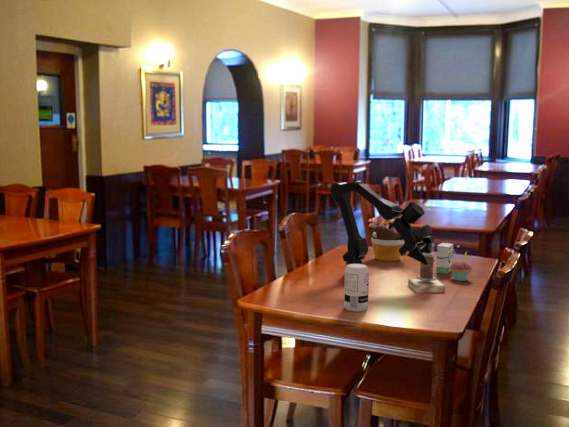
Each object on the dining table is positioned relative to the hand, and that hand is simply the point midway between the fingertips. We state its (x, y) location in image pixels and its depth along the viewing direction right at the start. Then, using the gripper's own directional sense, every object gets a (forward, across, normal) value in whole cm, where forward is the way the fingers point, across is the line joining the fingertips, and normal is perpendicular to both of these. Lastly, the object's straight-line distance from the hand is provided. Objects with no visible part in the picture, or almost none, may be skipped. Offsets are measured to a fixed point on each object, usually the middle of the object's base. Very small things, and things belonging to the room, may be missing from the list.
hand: (430, 263), depth 242 cm
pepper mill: (+4, 0, +6) cm, 7 cm away
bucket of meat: (-20, +35, +35) cm, 54 cm away
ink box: (+1, +30, +14) cm, 33 cm away
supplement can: (+3, -40, +12) cm, 42 cm away
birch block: (+7, 0, +8) cm, 11 cm away
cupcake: (+9, +22, +6) cm, 24 cm away
